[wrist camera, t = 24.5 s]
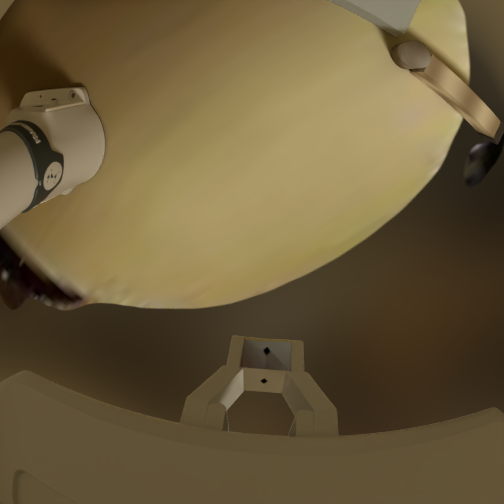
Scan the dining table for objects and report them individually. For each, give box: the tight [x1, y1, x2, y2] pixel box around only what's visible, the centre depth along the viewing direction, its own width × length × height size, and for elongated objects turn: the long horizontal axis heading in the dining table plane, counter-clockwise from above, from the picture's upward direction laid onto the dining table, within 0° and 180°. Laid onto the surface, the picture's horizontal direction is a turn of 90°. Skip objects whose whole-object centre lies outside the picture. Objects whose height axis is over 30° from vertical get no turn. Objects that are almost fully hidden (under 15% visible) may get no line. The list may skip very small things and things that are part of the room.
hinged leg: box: [391, 40, 504, 144], centre depth 25 cm, size 19×4×4 cm, turn 67°
